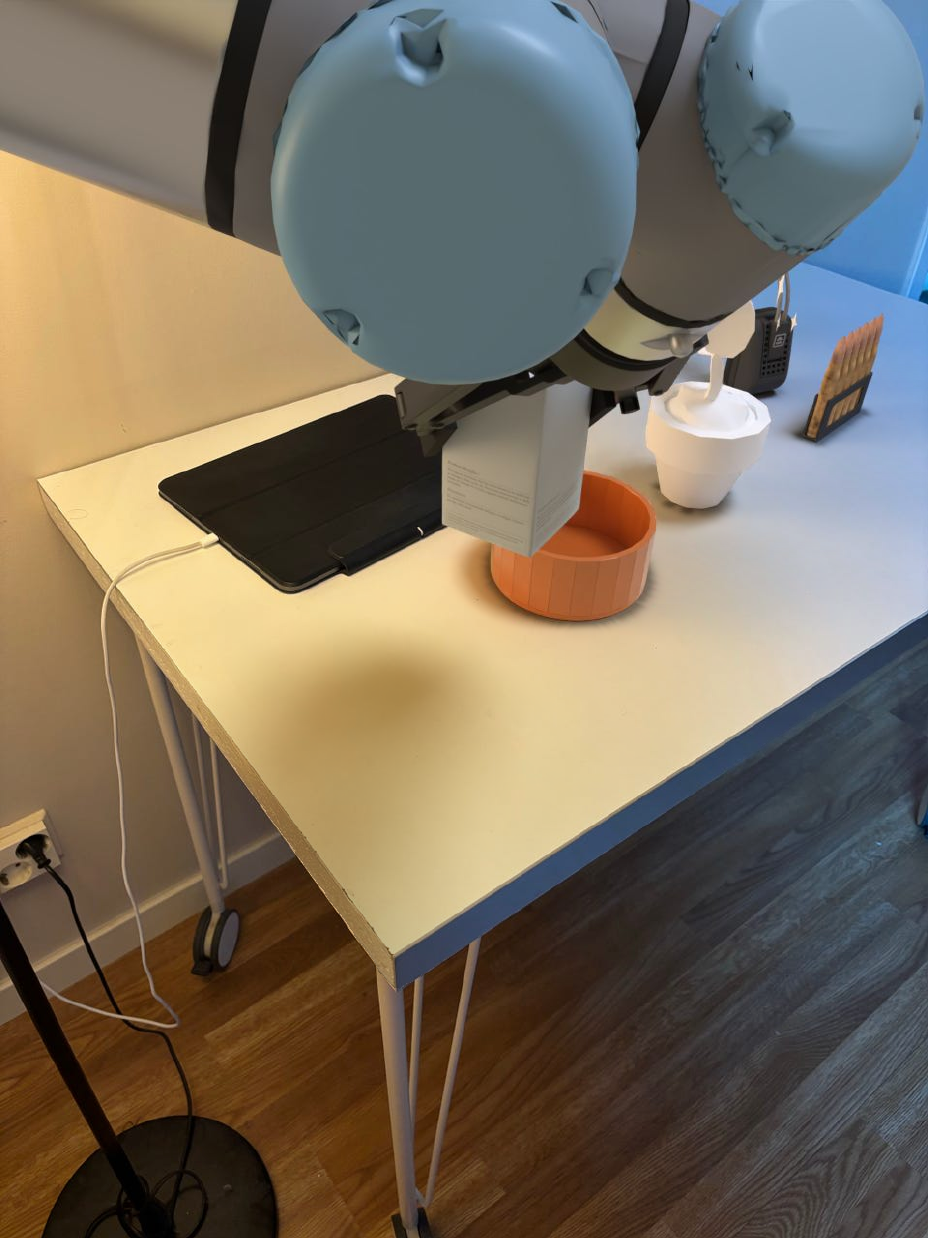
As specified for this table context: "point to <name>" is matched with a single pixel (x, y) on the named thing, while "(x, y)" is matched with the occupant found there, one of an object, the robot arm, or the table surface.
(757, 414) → the potted plant
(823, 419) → the ammunition clip
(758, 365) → the headphones
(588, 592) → the orange round bowl
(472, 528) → the white packaging box
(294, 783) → the table surface
